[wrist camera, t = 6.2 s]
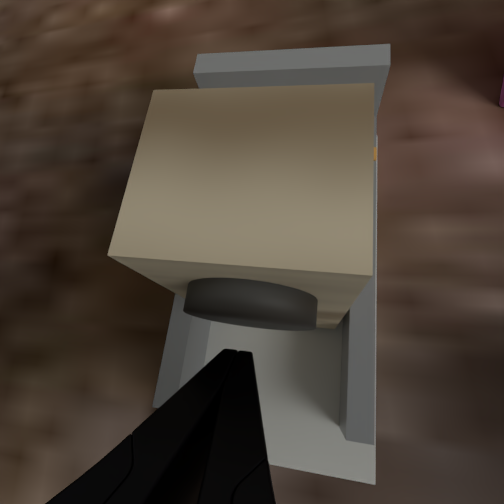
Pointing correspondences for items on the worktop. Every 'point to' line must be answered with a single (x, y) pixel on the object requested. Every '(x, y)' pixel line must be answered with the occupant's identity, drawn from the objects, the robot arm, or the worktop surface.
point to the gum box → (502, 95)
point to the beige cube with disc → (254, 202)
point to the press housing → (297, 342)
